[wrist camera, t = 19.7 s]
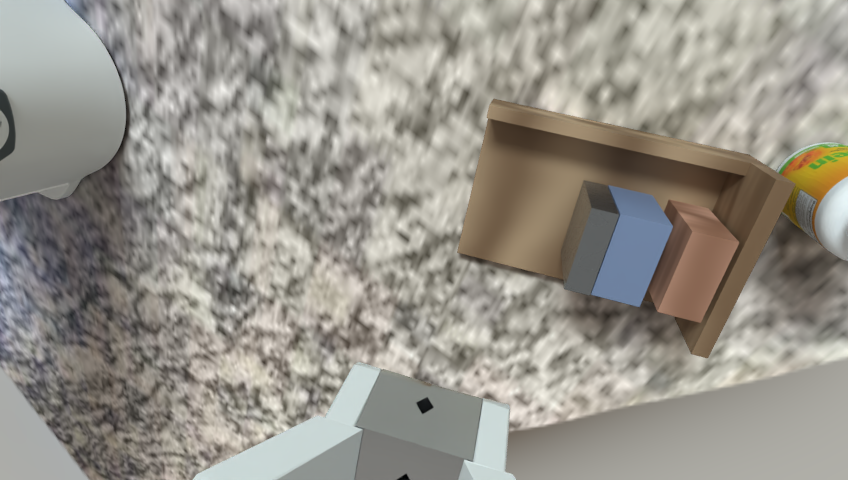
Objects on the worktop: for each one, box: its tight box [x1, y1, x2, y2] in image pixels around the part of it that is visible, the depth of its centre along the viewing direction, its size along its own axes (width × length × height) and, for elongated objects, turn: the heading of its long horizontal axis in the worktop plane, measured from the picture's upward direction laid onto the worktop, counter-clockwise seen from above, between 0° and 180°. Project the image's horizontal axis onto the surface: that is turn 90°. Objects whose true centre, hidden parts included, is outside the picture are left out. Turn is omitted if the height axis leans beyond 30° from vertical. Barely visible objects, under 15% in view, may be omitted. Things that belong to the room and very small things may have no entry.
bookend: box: [561, 180, 619, 295], centre depth 34 cm, size 2×6×6 cm, turn 169°
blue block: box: [591, 185, 673, 307], centre depth 34 cm, size 3×6×6 cm, turn 169°
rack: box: [457, 99, 796, 358], centre depth 34 cm, size 17×12×7 cm
